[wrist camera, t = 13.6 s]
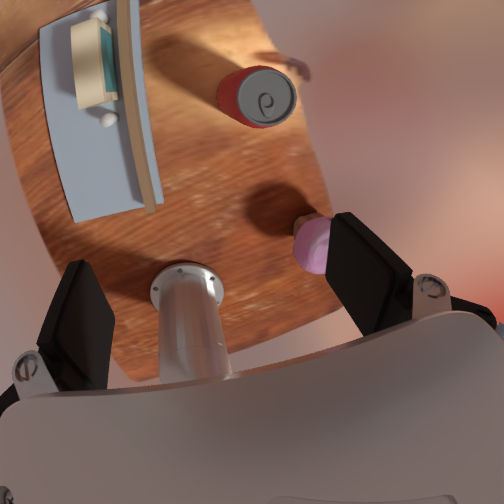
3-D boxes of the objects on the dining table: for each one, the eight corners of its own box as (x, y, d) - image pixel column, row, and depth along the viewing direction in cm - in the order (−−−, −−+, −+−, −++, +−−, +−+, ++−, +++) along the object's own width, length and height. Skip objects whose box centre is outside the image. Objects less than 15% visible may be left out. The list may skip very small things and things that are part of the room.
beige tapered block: (120, 99, 27) (105, 101, 21) (97, 105, 26) (78, 110, 21) (112, 29, 21) (97, 16, 15) (90, 36, 21) (70, 27, 15)
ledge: (164, 200, 37) (162, 213, 33) (77, 220, 35) (67, 235, 31) (138, -5, 20) (133, -16, 16) (42, 29, 18) (28, 25, 14)
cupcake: (324, 245, 48) (352, 280, 40) (278, 250, 46) (300, 289, 38) (332, 198, 43) (365, 228, 35) (282, 201, 41) (308, 233, 33)
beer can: (218, 121, 33) (233, 135, 23) (214, 73, 29) (228, 64, 19) (267, 117, 34) (302, 130, 24) (265, 70, 30) (301, 64, 20)
